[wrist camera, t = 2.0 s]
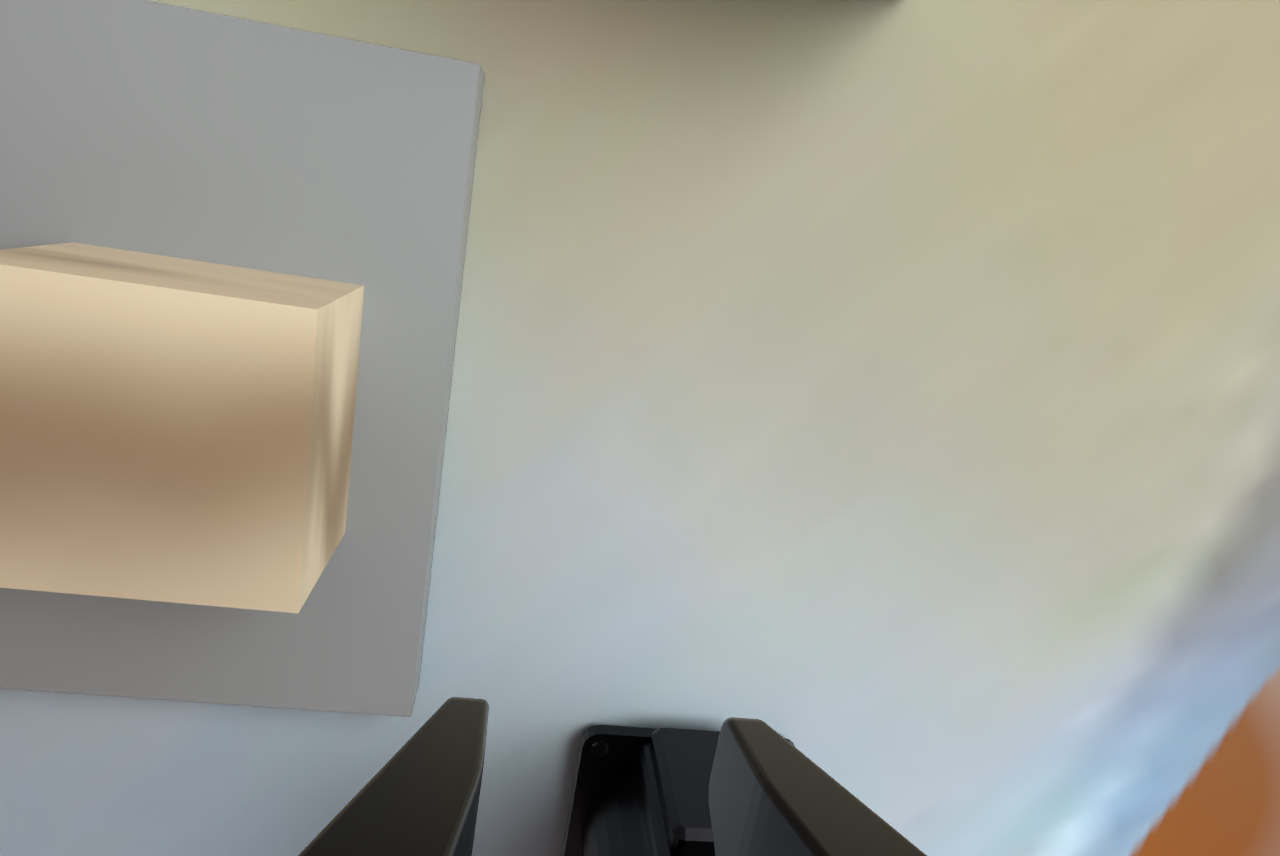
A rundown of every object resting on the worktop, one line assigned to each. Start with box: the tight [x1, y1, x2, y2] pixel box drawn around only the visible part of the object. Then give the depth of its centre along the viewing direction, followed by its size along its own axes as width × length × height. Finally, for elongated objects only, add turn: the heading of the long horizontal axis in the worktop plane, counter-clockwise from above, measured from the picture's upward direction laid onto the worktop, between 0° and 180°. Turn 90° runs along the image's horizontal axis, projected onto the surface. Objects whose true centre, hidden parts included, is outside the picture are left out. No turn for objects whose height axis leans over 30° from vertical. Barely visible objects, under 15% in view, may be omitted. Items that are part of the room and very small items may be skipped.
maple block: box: [0, 242, 364, 613], centre depth 17 cm, size 6×6×4 cm
